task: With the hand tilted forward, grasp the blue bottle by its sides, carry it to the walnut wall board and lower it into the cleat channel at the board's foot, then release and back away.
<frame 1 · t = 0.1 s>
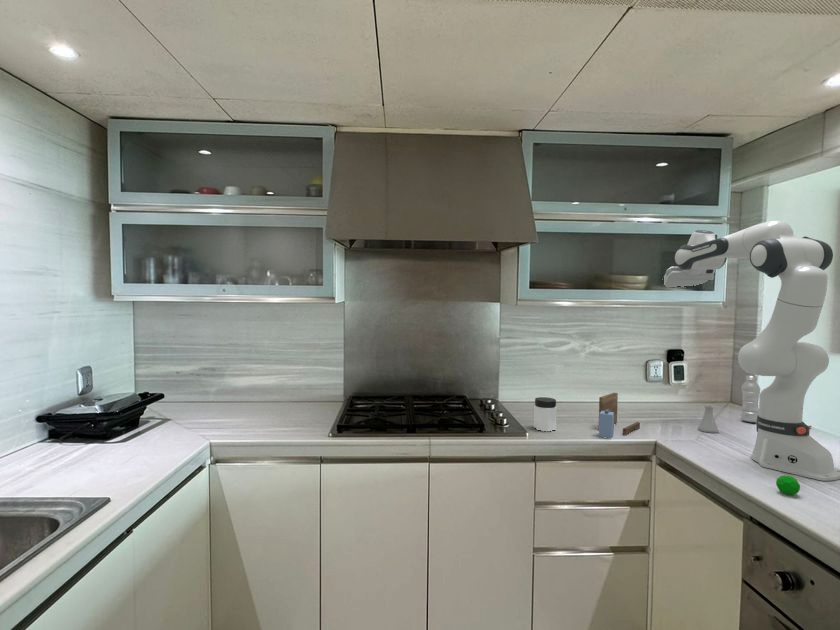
hand: (682, 295, 201), 54 cm above the worktop, tool tilted 30°, fingers open, 8 cm apart
polyhedron: (787, 494, 123), on the worktop
jar: (544, 429, 183), on the worktop
flask: (708, 431, 183), on the worktop
plastic bottle: (749, 422, 196), on the worktop
cleat board: (619, 429, 184), on the worktop
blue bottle: (606, 436, 174), on the worktop
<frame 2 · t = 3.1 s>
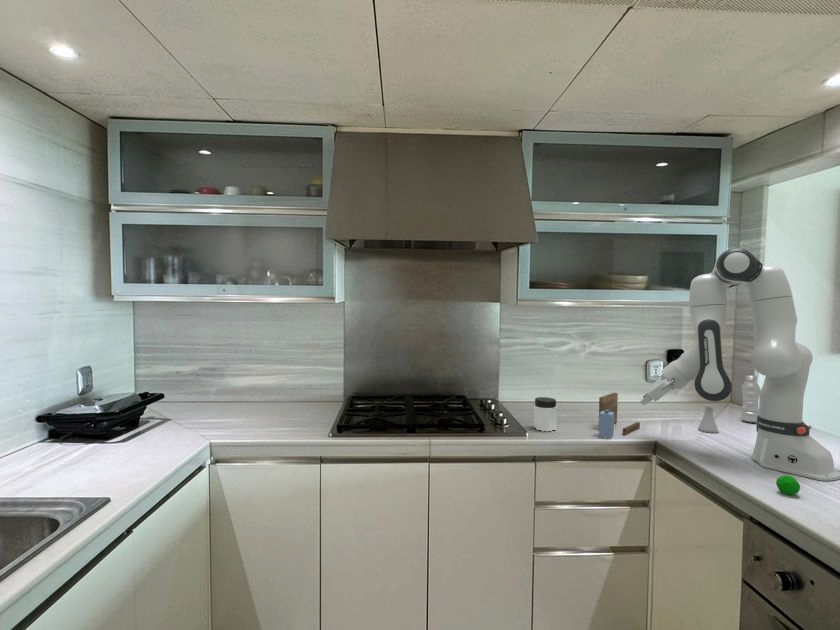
hand: (643, 401, 167), 15 cm above the worktop, tool tilted 45°, fingers open, 8 cm apart
nothing on the worktop moved.
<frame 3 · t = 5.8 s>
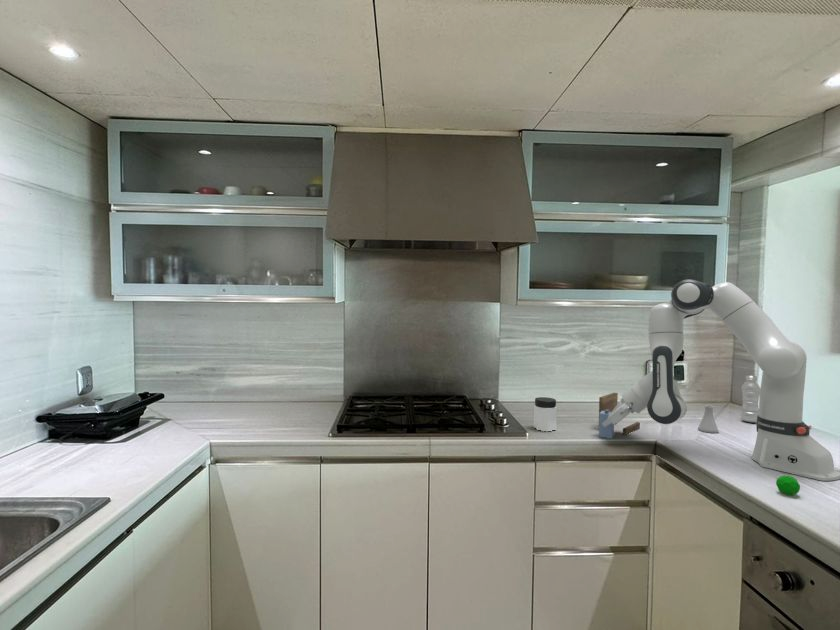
hand: (604, 423, 174), 5 cm above the worktop, tool tilted 45°, fingers closed on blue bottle, 5 cm apart
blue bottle: (606, 436, 174), on the worktop, touching gripper
everything else where it was.
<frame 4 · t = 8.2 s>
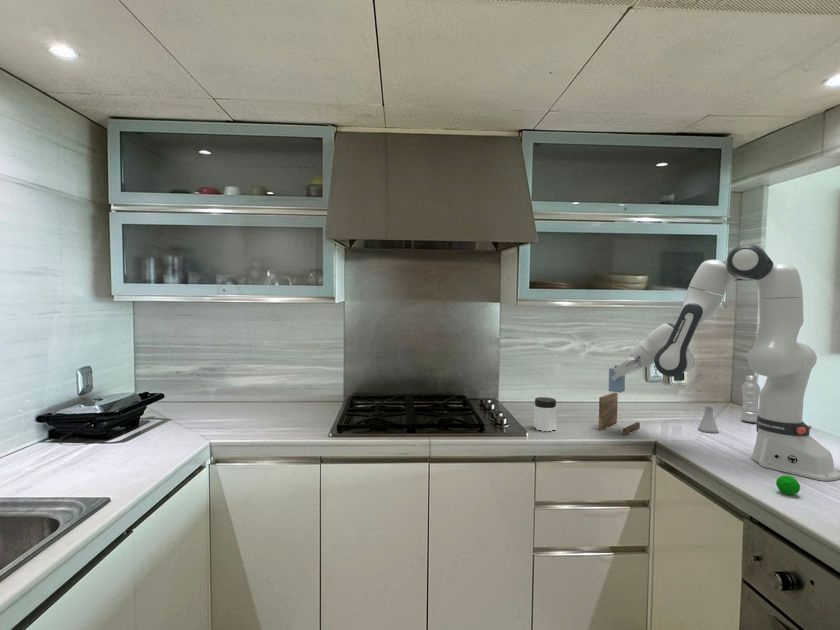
hand: (615, 378, 180), 21 cm above the worktop, tool tilted 45°, fingers closed on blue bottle, 5 cm apart
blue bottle: (616, 391, 179), point 16 cm above the worktop, touching gripper
everything else where it was.
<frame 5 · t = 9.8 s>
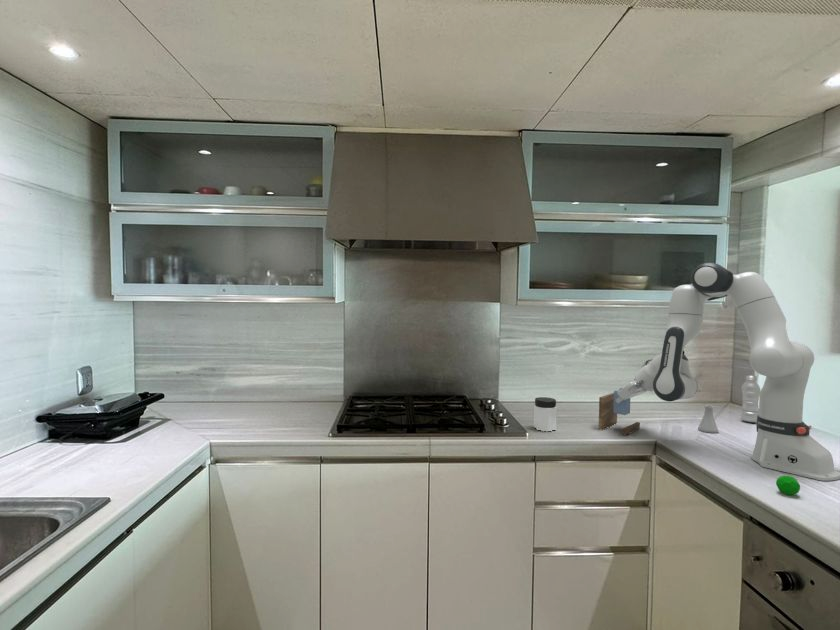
hand: (620, 400, 183), 12 cm above the worktop, tool tilted 45°, fingers closed on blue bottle, 5 cm apart
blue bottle: (621, 413, 183), point 7 cm above the worktop, touching gripper
everything else where it was.
when the fingers open (7 cm above the worktop, at t = 11.0 s): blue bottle drops 2 cm, on the worktop.
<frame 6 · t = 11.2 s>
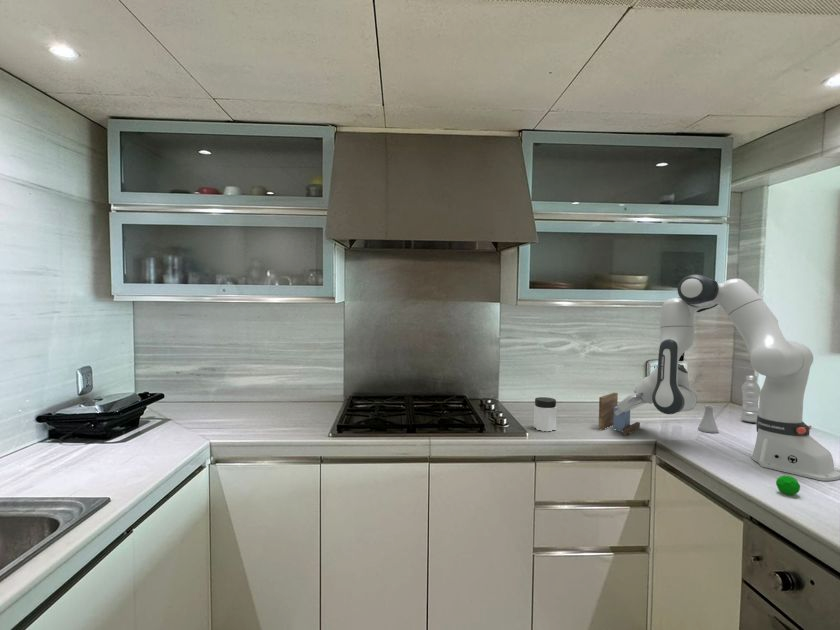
hand: (620, 412, 183), 7 cm above the worktop, tool tilted 45°, fingers open, 7 cm apart
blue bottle: (621, 429, 183), on the worktop
everything else where it was.
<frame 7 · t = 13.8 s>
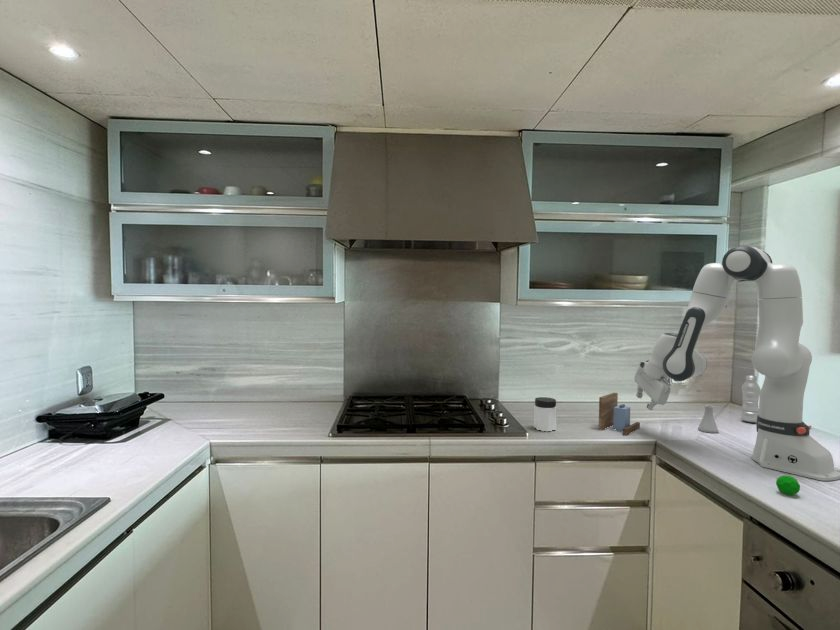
hand: (643, 402, 180), 11 cm above the worktop, tool tilted 20°, fingers open, 8 cm apart
nothing on the worktop moved.
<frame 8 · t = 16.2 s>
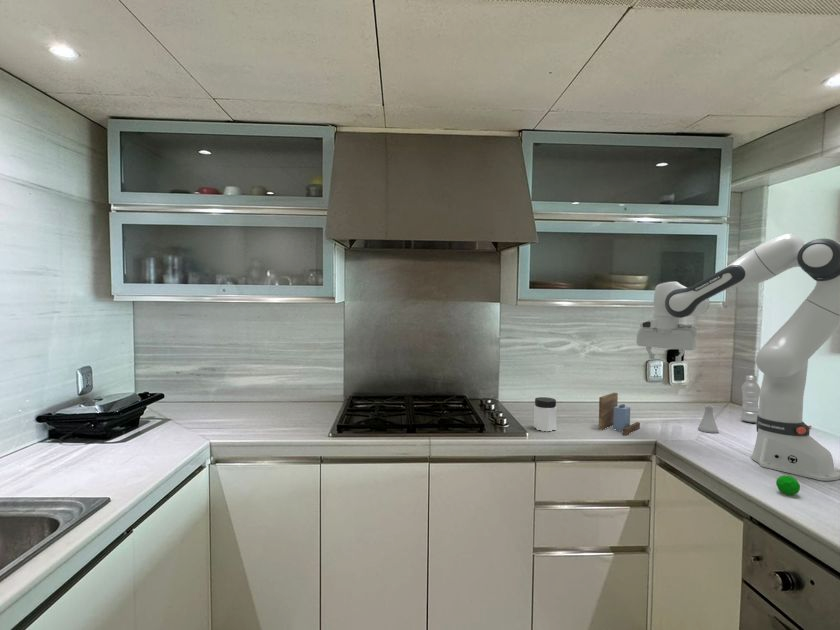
hand: (664, 359, 175), 29 cm above the worktop, tool pointing down, fingers open, 8 cm apart
nothing on the worktop moved.
at the end: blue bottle 0.8 cm from the cleat board (horizontally); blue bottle tilted 0°; the gripper is holding nothing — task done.
